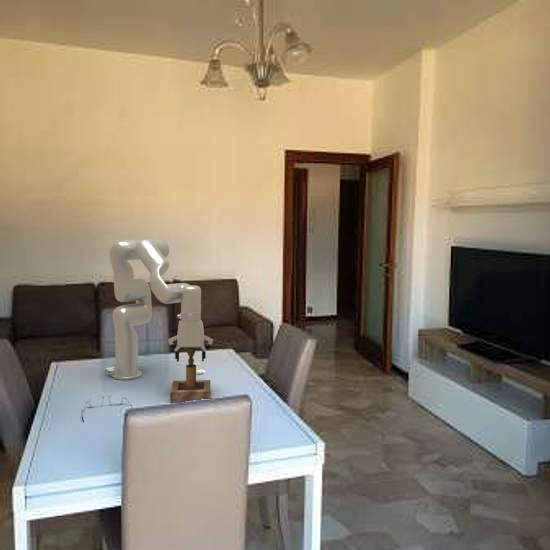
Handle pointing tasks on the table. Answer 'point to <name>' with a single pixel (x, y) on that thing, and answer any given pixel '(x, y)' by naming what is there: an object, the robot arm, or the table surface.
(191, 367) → the brown flared column
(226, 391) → the table surface
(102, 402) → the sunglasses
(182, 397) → the walnut holder
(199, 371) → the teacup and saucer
